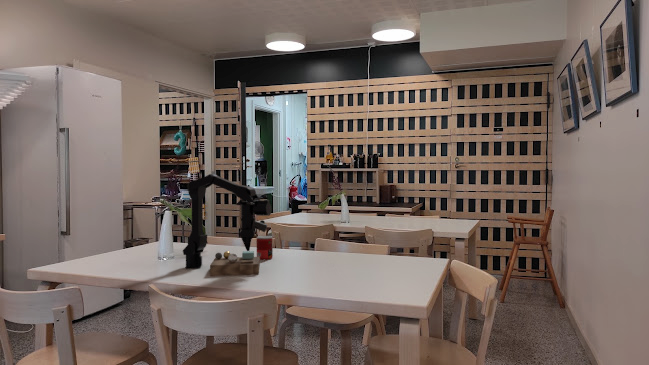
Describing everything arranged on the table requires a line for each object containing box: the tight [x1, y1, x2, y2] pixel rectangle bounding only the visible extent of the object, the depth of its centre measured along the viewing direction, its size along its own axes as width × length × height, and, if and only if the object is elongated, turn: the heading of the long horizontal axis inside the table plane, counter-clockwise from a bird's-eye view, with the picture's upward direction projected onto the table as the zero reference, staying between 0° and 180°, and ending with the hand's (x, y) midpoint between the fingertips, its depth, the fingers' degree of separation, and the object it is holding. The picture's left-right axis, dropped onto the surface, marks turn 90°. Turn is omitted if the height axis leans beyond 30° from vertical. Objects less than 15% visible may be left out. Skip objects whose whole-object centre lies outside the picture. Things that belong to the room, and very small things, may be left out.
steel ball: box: [228, 253, 238, 263], centre depth 198 cm, size 4×4×4 cm
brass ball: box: [222, 250, 231, 259], centre depth 209 cm, size 3×3×3 cm
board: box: [209, 256, 261, 277], centre depth 203 cm, size 20×18×4 cm
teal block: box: [241, 250, 255, 259], centre depth 209 cm, size 5×5×2 cm
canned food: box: [256, 235, 273, 261], centre depth 233 cm, size 8×8×11 cm
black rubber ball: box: [214, 252, 223, 259], centre depth 207 cm, size 3×3×3 cm
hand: (248, 250), depth 204 cm, fingers closed
